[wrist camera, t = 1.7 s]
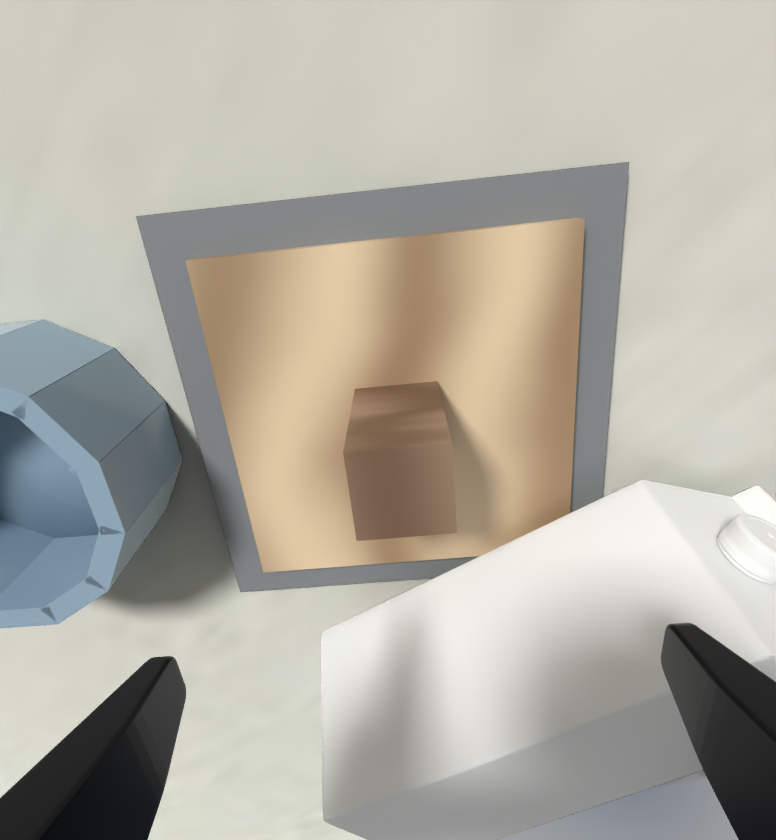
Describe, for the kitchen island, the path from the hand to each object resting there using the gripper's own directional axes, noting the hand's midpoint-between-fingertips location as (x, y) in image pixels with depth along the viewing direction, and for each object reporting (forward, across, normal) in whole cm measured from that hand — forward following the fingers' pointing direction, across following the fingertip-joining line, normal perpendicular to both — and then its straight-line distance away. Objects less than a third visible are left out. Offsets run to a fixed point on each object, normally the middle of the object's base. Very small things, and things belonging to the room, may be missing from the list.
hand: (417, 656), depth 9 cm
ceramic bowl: (+12, +14, 0) cm, 18 cm away
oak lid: (+11, 0, 0) cm, 11 cm away
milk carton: (+8, +3, +14) cm, 16 cm away
